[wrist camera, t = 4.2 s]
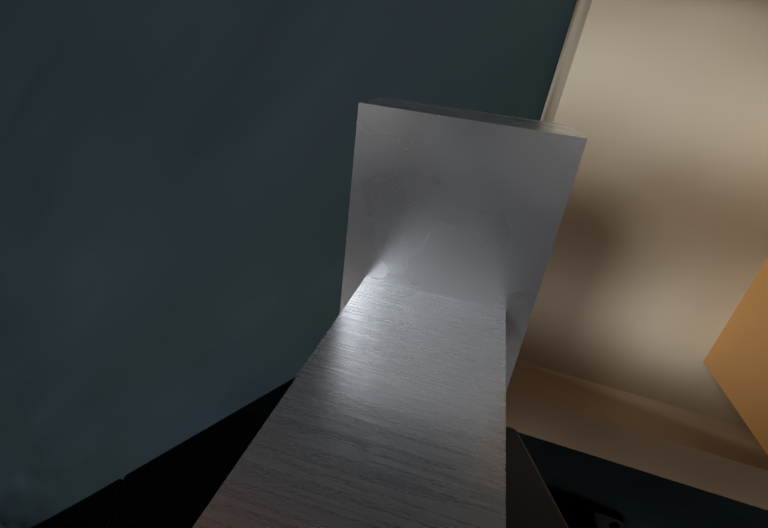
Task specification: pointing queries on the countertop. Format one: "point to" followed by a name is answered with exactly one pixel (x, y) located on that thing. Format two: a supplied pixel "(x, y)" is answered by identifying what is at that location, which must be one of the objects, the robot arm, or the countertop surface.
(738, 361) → the matte ochre cube
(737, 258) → the slot block
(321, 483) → the scraper
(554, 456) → the countertop surface
